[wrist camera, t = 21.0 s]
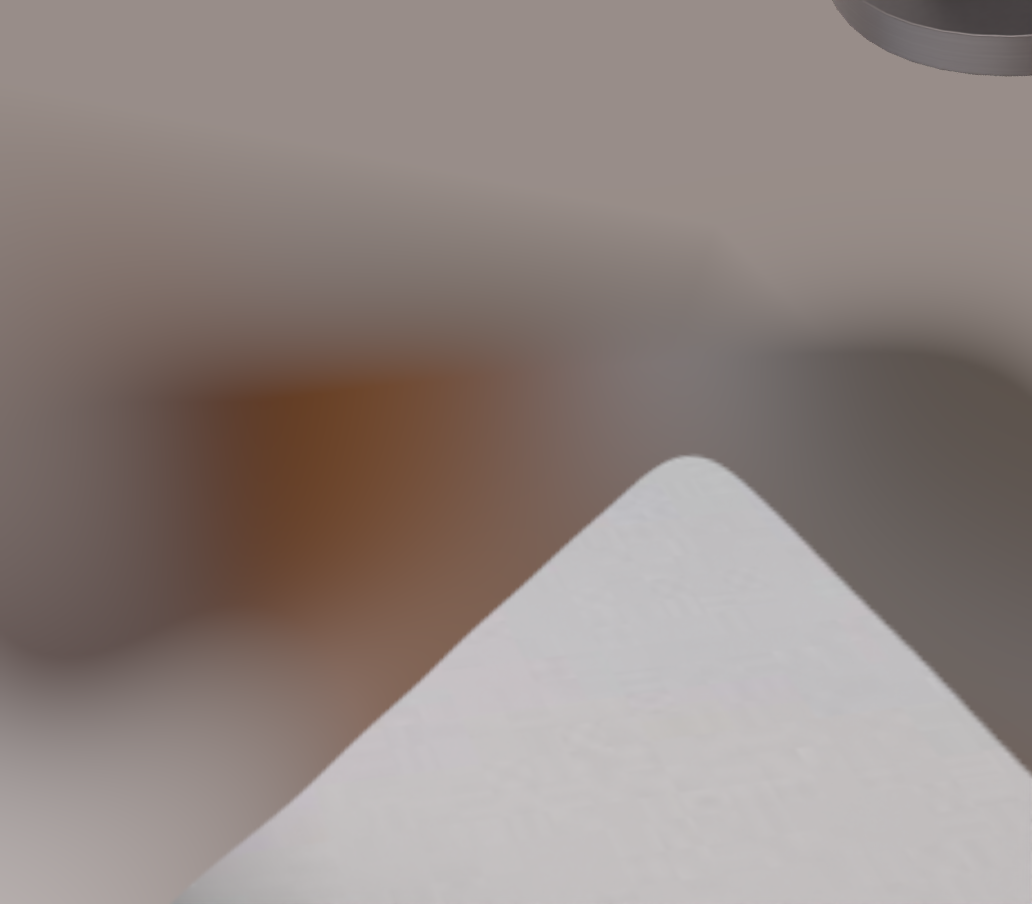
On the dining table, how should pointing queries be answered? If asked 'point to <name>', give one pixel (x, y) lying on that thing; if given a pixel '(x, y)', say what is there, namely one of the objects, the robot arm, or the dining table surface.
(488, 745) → the dining table surface
